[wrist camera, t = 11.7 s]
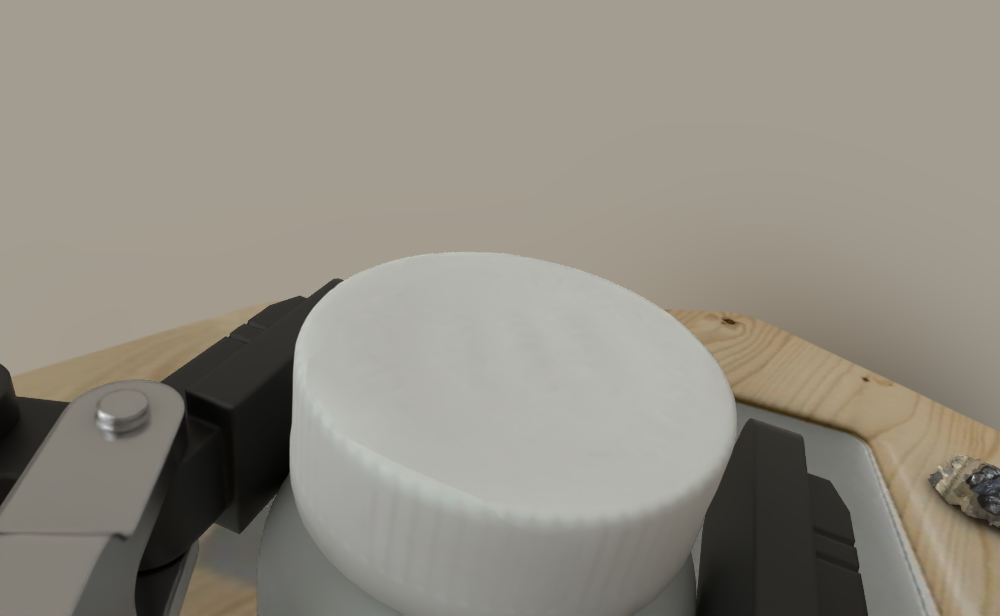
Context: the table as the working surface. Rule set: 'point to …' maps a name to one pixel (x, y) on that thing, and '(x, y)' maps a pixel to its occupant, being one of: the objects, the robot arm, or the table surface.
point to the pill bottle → (494, 447)
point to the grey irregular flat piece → (971, 487)
